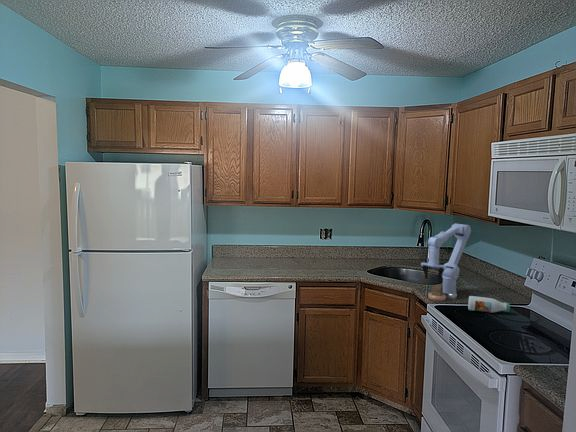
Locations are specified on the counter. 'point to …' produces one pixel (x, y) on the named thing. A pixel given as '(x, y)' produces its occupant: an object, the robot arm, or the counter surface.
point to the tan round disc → (436, 297)
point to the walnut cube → (437, 290)
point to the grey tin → (452, 295)
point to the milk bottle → (487, 304)
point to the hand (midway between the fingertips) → (432, 279)
